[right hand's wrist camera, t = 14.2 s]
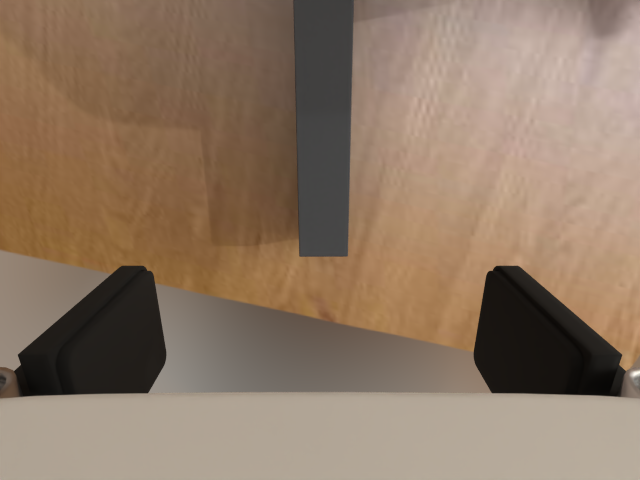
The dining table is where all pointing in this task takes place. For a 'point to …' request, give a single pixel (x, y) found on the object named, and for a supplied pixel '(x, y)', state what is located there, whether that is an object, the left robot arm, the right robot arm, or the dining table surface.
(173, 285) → the dining table surface
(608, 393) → the right robot arm
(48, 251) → the dining table surface
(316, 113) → the post
